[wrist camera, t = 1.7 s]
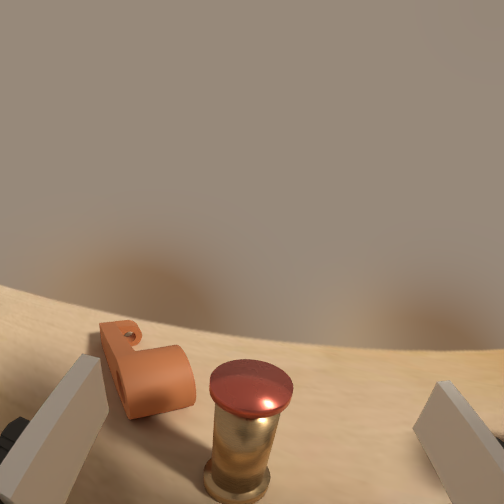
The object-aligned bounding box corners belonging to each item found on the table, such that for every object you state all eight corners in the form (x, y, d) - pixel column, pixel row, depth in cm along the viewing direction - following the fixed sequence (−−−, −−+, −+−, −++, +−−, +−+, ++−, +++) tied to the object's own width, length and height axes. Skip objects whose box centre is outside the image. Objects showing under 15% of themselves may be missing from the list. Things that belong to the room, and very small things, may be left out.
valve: (266, 460, 28) (290, 360, 24) (269, 507, 22) (301, 414, 18) (206, 456, 28) (211, 354, 24) (200, 503, 21) (202, 407, 18)
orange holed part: (195, 418, 34) (196, 368, 31) (133, 432, 29) (125, 382, 27) (146, 338, 49) (145, 295, 47) (101, 344, 45) (97, 300, 43)
